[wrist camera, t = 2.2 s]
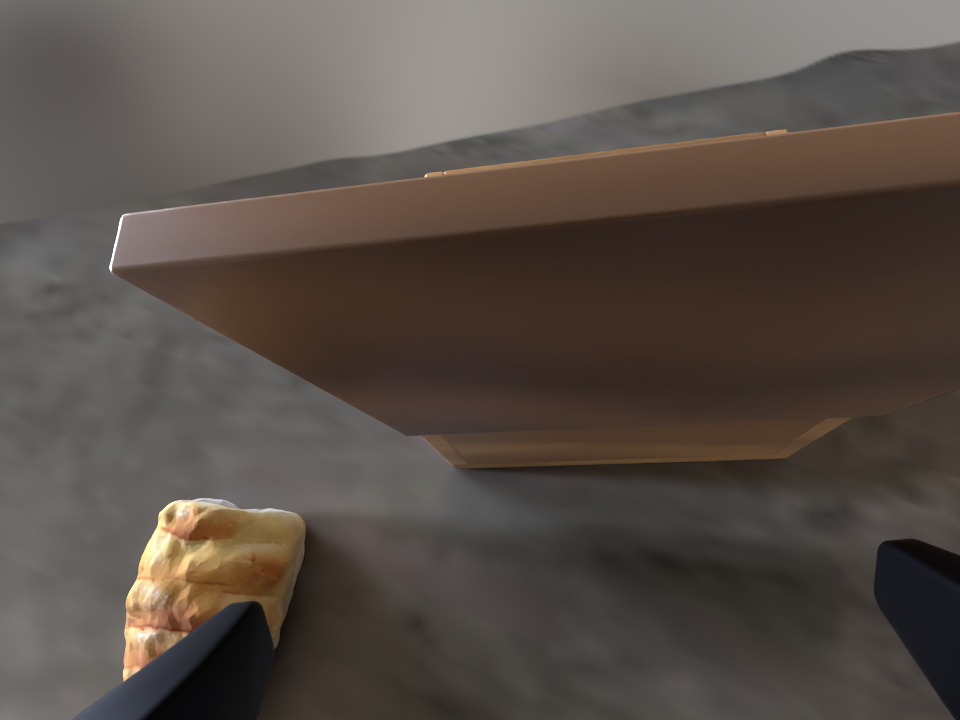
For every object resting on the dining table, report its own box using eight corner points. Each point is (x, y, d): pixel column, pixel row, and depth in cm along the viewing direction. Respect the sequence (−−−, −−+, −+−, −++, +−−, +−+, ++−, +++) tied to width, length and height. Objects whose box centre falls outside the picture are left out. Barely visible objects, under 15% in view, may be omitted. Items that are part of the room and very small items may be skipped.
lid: (119, 211, 6) (105, 273, 6) (1676, 20, 4) (1754, 104, 4) (406, 411, 17) (405, 436, 16) (877, 388, 15) (884, 416, 14)
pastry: (268, 764, 20) (202, 802, 16) (120, 733, 21) (30, 762, 18) (321, 510, 23) (276, 497, 20) (191, 497, 25) (127, 484, 21)
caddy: (459, 265, 27) (424, 172, 21) (736, 239, 25) (788, 127, 19) (454, 469, 23) (410, 427, 17) (786, 458, 21) (873, 407, 15)
